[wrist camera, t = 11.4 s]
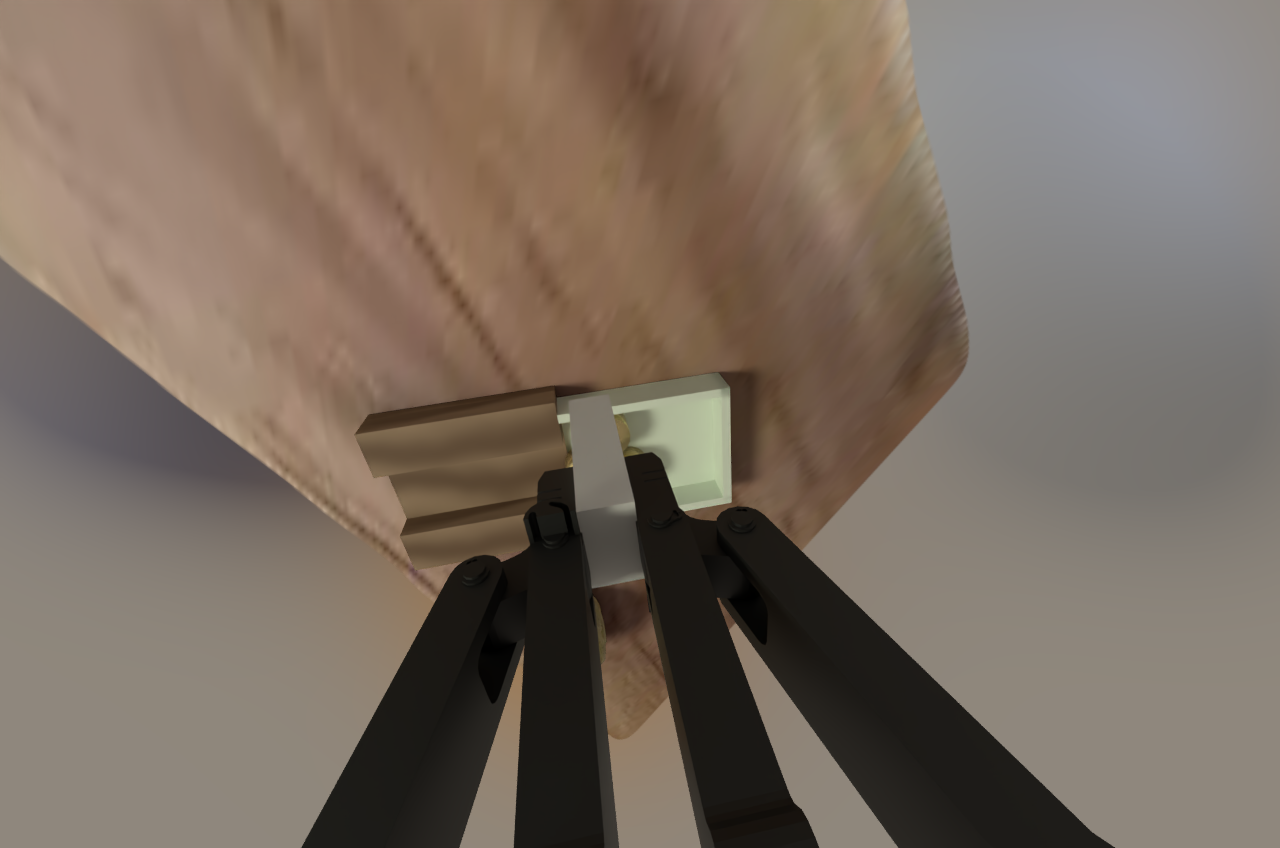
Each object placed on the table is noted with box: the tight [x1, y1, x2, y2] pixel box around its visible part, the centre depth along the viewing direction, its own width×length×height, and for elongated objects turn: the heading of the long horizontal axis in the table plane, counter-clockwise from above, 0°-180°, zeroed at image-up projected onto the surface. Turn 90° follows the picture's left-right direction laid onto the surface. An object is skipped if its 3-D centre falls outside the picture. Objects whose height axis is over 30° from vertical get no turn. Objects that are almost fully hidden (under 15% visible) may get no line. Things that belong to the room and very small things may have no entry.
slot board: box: [355, 386, 568, 570], centre depth 45 cm, size 15×16×4 cm
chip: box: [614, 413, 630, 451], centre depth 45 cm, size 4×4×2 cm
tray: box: [557, 372, 731, 511], centre depth 46 cm, size 13×15×4 cm
